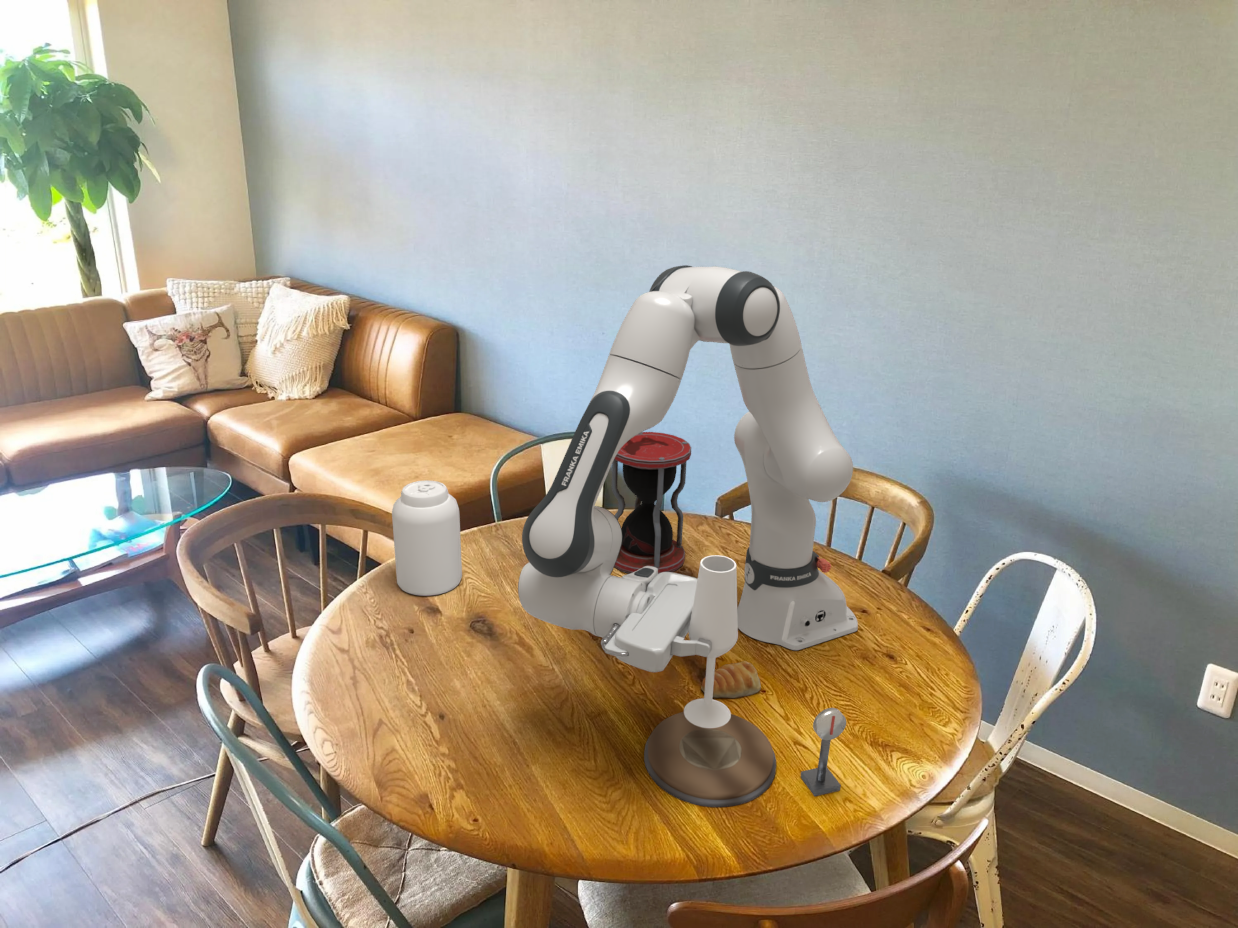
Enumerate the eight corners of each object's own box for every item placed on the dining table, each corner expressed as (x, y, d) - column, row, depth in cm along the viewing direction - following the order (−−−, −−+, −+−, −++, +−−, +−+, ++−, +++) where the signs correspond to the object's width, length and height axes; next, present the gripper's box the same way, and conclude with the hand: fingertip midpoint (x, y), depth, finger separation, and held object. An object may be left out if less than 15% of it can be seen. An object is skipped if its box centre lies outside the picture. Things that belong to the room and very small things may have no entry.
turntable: (741, 708, 145) (742, 698, 144) (799, 790, 128) (801, 779, 127) (626, 730, 139) (627, 719, 138) (672, 819, 122) (673, 807, 122)
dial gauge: (826, 771, 132) (836, 697, 127) (841, 790, 128) (852, 715, 124) (799, 777, 131) (808, 703, 126) (813, 796, 127) (823, 721, 122)
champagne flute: (682, 726, 128) (692, 574, 118) (684, 696, 134) (693, 550, 125) (731, 730, 127) (744, 578, 118) (730, 700, 133) (743, 553, 124)
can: (412, 562, 186) (406, 471, 178) (471, 570, 184) (468, 478, 176) (385, 592, 175) (378, 496, 167) (448, 601, 172) (443, 504, 165)
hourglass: (670, 536, 200) (676, 428, 190) (695, 572, 185) (703, 457, 176) (598, 544, 196) (600, 433, 186) (618, 580, 181) (622, 463, 172)
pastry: (713, 707, 145) (714, 687, 144) (692, 683, 151) (694, 664, 150) (763, 693, 149) (765, 673, 148) (742, 671, 155) (743, 651, 153)
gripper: (595, 628, 120) (696, 653, 115) (652, 560, 137) (741, 579, 132) (594, 668, 122) (693, 695, 117) (650, 596, 140) (738, 617, 135)
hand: (719, 633), depth 125 cm, fingers closed on champagne flute, 7 cm apart
